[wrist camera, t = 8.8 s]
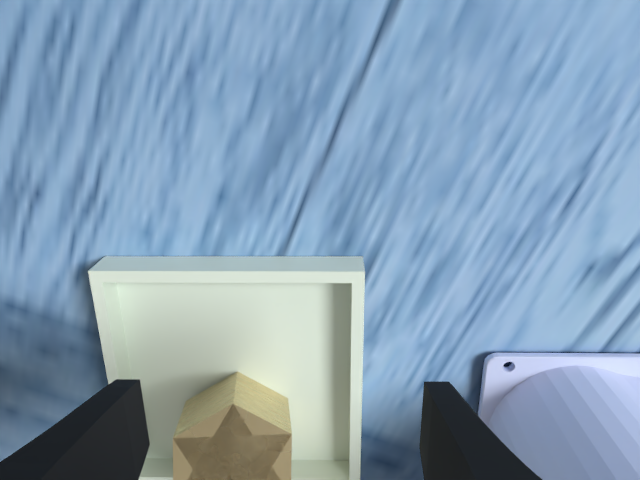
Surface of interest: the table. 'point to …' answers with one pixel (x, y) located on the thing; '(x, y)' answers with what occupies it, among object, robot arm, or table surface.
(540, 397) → the robot arm
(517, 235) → the table surface
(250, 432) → the wooden polyhedron
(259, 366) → the parts tray
